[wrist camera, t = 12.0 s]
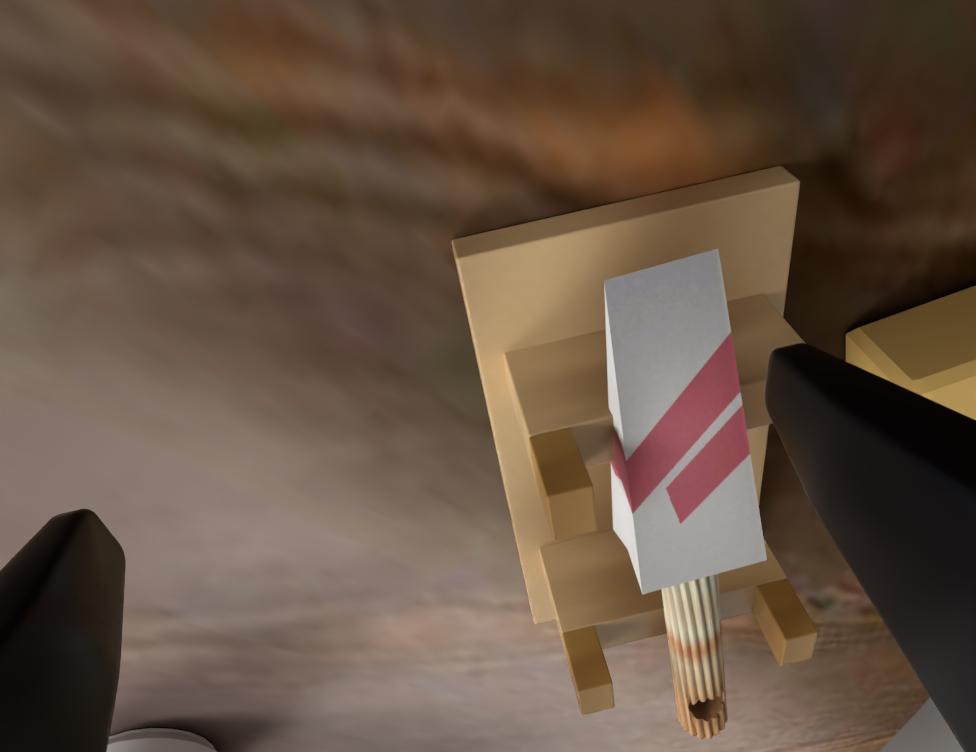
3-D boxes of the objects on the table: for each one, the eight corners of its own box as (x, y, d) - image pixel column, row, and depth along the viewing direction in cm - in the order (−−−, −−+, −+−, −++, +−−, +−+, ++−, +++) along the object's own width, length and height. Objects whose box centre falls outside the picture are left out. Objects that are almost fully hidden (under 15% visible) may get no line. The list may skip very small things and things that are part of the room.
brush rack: (781, 164, 21) (939, 292, 16) (739, 551, 33) (820, 701, 28) (450, 238, 21) (492, 396, 15) (529, 602, 33) (568, 763, 27)
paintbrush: (772, 268, 16) (763, 738, 27) (719, 222, 18) (732, 673, 29) (601, 314, 16) (664, 765, 27) (570, 262, 18) (640, 699, 29)
